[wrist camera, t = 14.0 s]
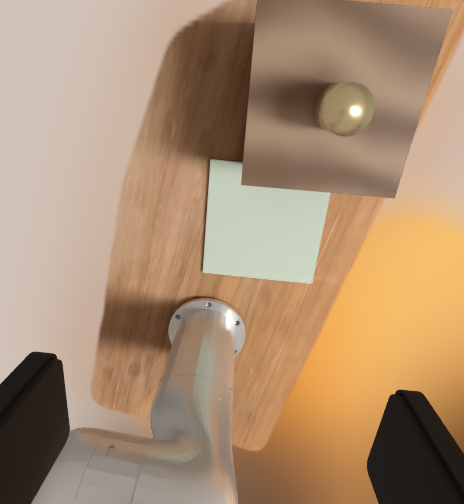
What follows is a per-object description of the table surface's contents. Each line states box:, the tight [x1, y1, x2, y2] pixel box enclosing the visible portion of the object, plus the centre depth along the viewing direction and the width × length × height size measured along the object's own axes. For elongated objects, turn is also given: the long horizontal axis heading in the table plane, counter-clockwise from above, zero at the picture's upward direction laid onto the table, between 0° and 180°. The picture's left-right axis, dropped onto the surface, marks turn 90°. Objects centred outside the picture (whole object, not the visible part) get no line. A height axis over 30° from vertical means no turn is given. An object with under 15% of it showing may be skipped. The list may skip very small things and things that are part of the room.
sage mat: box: [203, 159, 330, 284], centre depth 47 cm, size 17×17×1 cm
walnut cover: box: [241, 0, 453, 198], centre depth 33 cm, size 16×16×16 cm
